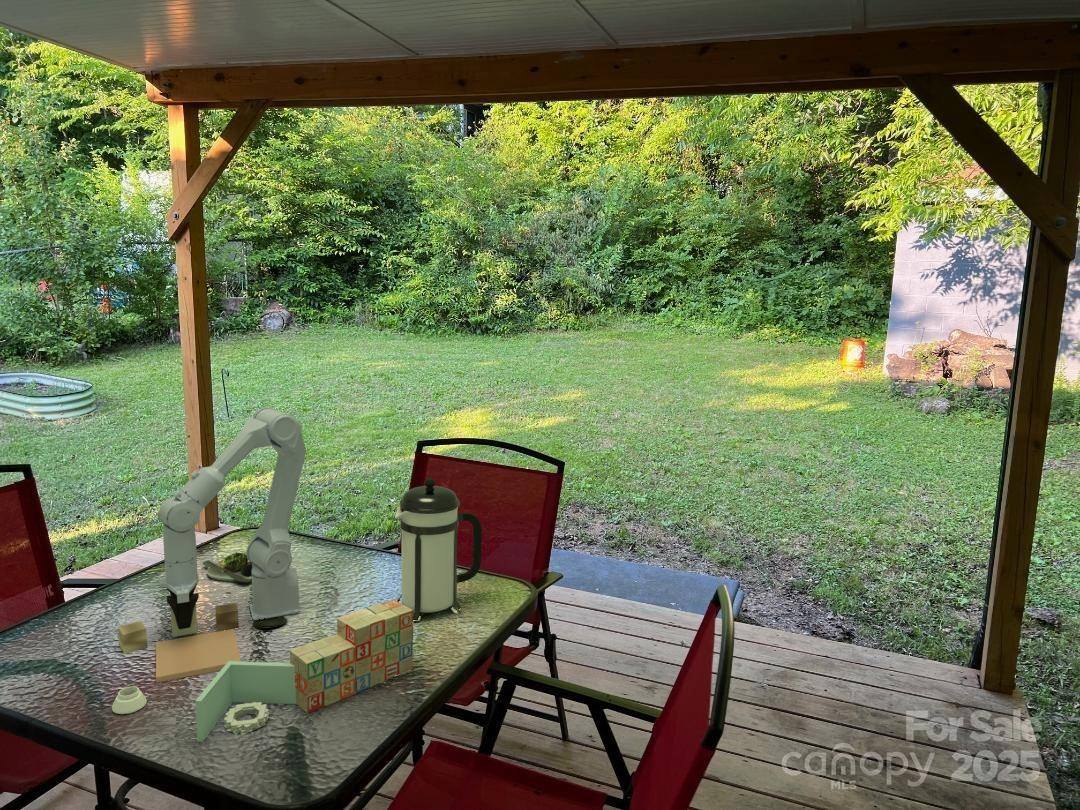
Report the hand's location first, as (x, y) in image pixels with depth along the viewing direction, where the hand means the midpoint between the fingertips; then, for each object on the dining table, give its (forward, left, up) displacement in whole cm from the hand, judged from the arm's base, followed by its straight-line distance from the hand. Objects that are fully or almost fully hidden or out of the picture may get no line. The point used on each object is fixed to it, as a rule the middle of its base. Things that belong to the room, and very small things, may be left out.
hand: (184, 622), depth 146 cm
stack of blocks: (-27, +31, -3) cm, 41 cm away
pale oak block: (+9, +1, -3) cm, 10 cm away
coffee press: (-50, +7, -3) cm, 50 cm away
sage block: (0, 0, -2) cm, 2 cm away
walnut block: (-8, -1, -3) cm, 8 cm away
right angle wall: (-9, +36, -4) cm, 37 cm away
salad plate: (-15, -30, -3) cm, 34 cm away
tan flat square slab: (-2, +10, -3) cm, 11 cm away
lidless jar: (+9, +23, -3) cm, 25 cm away
